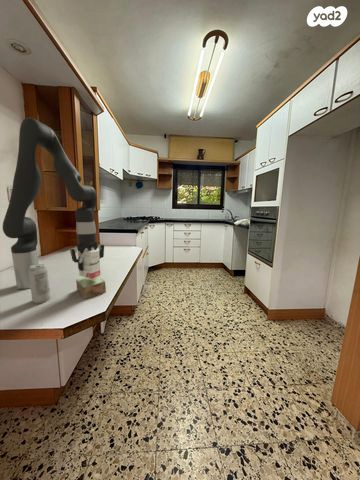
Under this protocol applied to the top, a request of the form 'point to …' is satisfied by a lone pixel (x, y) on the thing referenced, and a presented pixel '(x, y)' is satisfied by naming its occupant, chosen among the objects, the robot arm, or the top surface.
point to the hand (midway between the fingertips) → (89, 268)
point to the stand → (90, 286)
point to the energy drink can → (39, 283)
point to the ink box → (90, 264)
